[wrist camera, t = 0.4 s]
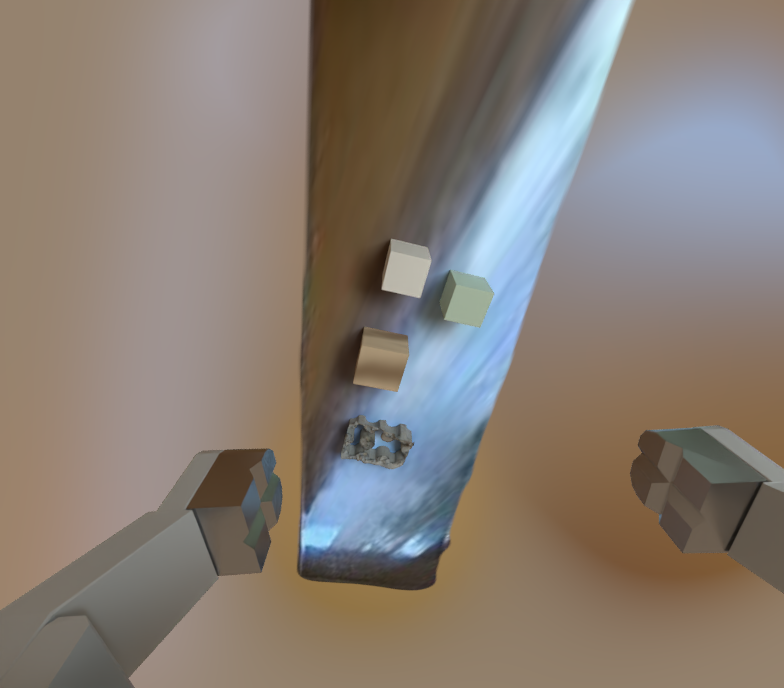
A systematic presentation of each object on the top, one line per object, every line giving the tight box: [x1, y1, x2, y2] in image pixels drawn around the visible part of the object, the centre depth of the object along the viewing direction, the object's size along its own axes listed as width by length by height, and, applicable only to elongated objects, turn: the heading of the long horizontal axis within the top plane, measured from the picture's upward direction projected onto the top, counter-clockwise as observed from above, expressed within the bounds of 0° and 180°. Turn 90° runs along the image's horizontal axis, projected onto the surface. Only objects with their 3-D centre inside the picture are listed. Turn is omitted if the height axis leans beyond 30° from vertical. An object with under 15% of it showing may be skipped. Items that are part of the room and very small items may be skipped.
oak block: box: [353, 327, 409, 392], centre depth 49 cm, size 6×6×5 cm
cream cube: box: [382, 239, 432, 298], centre depth 42 cm, size 4×4×5 cm
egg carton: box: [341, 415, 414, 469], centre depth 57 cm, size 11×8×4 cm
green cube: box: [439, 270, 494, 327], centre depth 44 cm, size 4×4×5 cm
